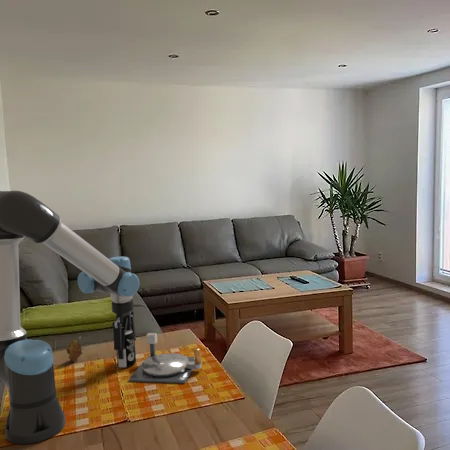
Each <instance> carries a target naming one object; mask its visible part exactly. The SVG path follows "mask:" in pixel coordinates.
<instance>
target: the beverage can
mask: <svg viewBox="0 0 450 450" xmlns="http://www.w3.org/2000/svg"><path fill="white" fill-rule="evenodd" d="M134 338H135V337H134V334H133V331H132V330H131V329H130V330H125V343H124V349H126V362H127V367H126V368H129V367H132V366H134V365H135V364H136V362H137V356H136V343H135V342H136V340H134ZM115 352H116V360H117V361H116V363H117V366H119V363H118V350H115Z"/></svg>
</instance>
